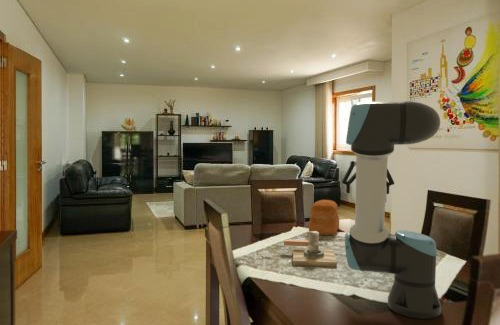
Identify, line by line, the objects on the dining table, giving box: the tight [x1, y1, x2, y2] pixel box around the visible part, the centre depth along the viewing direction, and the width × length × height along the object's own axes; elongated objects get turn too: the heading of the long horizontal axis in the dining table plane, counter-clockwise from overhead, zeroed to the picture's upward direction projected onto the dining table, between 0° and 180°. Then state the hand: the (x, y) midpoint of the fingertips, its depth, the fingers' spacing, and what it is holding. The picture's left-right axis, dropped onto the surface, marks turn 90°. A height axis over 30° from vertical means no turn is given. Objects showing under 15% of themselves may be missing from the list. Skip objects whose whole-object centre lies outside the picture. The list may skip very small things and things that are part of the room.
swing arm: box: [283, 239, 308, 247], centre depth 175 cm, size 16×4×3 cm, turn 84°
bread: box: [308, 199, 340, 236], centre depth 221 cm, size 16×26×17 cm, turn 162°
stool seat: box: [292, 248, 338, 268], centre depth 166 cm, size 18×18×4 cm
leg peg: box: [307, 230, 320, 254], centre depth 166 cm, size 4×4×10 cm
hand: (367, 201), depth 153 cm, fingers open, 13 cm apart
